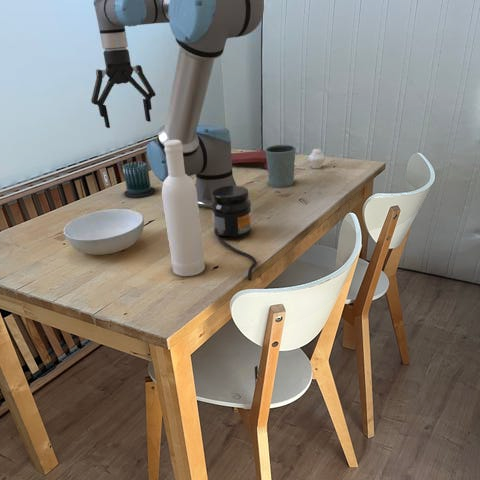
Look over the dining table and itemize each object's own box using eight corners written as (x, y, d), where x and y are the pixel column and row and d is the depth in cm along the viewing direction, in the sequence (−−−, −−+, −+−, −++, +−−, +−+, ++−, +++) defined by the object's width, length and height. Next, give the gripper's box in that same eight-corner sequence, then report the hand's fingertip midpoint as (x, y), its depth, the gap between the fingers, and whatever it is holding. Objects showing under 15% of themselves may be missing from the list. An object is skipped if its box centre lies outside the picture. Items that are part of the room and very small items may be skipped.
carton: (212, 173, 196) (266, 170, 182) (210, 161, 193) (264, 157, 180) (228, 165, 204) (281, 161, 191) (226, 153, 202) (279, 149, 189)
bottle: (173, 263, 121) (155, 138, 105) (204, 260, 121) (191, 135, 105) (172, 278, 114) (152, 147, 98) (205, 275, 115) (191, 144, 98)
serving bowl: (82, 233, 141) (77, 210, 137) (153, 230, 140) (150, 207, 136) (58, 265, 124) (51, 240, 120) (139, 262, 123) (134, 237, 119)
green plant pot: (301, 183, 168) (301, 148, 161) (278, 190, 163) (277, 153, 157) (283, 177, 175) (282, 142, 168) (260, 183, 171) (259, 148, 164)
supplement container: (260, 232, 135) (258, 189, 128) (233, 244, 129) (230, 200, 122) (233, 223, 141) (230, 182, 134) (206, 234, 135) (202, 192, 128)
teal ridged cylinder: (123, 190, 170) (144, 185, 174) (133, 196, 165) (155, 190, 169) (118, 164, 166) (140, 159, 170) (128, 169, 160) (151, 164, 164)
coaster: (160, 193, 167) (159, 192, 167) (130, 200, 163) (129, 198, 163) (149, 185, 175) (149, 184, 175) (120, 191, 171) (120, 190, 171)
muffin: (306, 165, 185) (307, 147, 182) (322, 164, 186) (323, 145, 182) (310, 170, 180) (310, 151, 176) (326, 169, 181) (327, 149, 177)
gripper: (150, 45, 153) (160, 116, 164) (71, 52, 144) (87, 128, 155) (159, 45, 147) (168, 120, 159) (76, 53, 138) (93, 132, 150)
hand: (128, 124), depth 157 cm, fingers open, 13 cm apart
